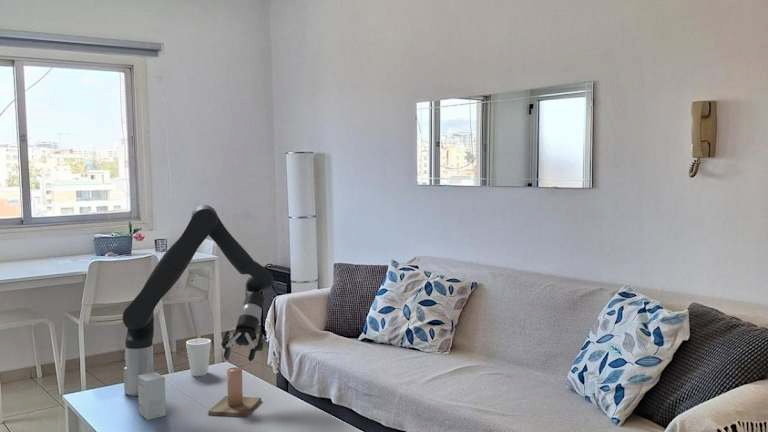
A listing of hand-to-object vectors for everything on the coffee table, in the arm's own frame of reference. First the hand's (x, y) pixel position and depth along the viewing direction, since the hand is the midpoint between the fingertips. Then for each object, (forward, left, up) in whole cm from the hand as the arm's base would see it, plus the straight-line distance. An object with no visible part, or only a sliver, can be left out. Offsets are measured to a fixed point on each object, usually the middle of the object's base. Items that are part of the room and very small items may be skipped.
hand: (238, 359), depth 230 cm
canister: (0, -3, -15) cm, 15 cm away
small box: (-25, -13, -16) cm, 32 cm away
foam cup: (-28, +31, -16) cm, 44 cm away
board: (0, -3, -16) cm, 16 cm away
